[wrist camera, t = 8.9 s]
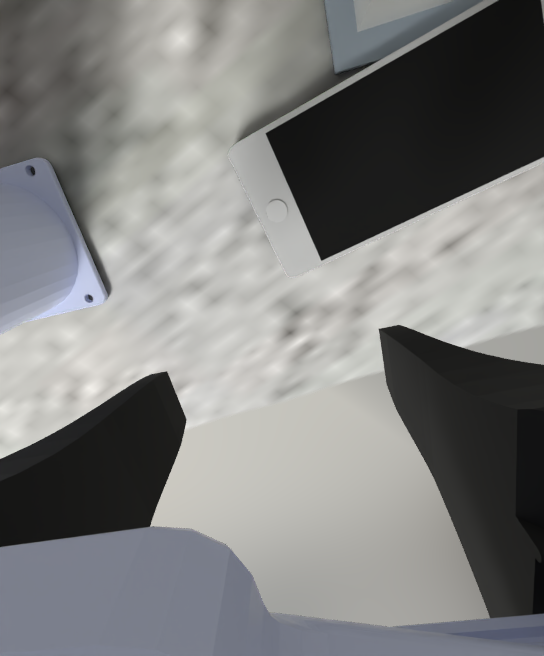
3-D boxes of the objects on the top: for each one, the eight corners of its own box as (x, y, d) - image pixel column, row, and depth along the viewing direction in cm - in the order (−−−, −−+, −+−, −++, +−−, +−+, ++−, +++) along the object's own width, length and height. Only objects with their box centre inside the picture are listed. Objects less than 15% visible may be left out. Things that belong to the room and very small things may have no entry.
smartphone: (226, 150, 17) (223, 149, 16) (563, -43, 14) (582, -57, 13) (288, 276, 20) (288, 281, 19) (583, 139, 16) (599, 138, 16)
